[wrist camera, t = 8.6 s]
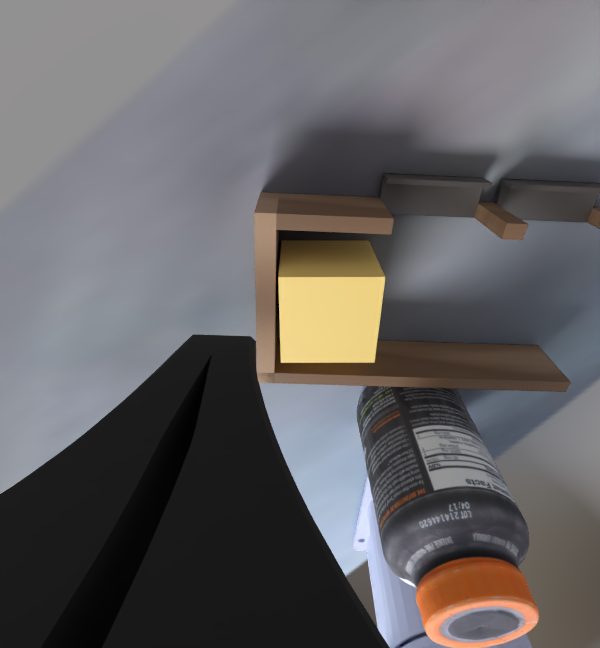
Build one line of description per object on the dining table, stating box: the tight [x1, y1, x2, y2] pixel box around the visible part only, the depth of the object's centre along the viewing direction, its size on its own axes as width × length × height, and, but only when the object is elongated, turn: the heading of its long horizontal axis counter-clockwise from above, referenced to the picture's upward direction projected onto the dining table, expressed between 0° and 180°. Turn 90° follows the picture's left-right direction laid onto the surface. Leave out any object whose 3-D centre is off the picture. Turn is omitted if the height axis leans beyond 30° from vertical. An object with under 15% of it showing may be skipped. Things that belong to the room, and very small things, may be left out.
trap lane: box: [254, 173, 600, 392], centre depth 18 cm, size 9×15×3 cm, turn 88°
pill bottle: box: [357, 386, 539, 648], centre depth 19 cm, size 6×6×11 cm
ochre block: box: [278, 241, 385, 363], centre depth 17 cm, size 4×4×4 cm
